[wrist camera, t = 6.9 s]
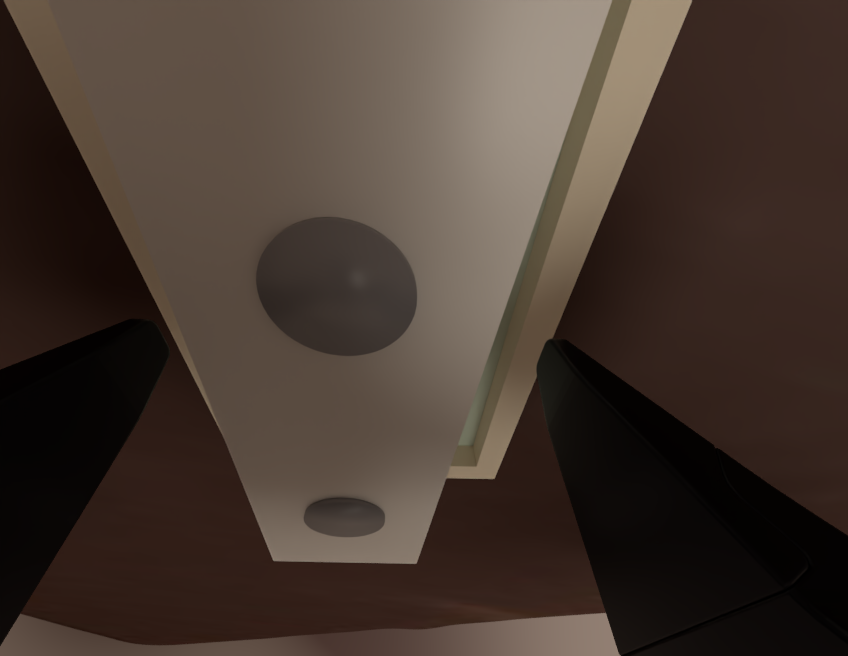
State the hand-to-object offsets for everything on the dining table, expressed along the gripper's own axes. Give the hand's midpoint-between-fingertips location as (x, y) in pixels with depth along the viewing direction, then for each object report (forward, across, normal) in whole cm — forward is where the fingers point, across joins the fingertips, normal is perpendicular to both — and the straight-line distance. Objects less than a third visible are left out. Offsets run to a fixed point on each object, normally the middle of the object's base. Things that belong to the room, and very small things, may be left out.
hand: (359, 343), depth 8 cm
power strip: (+2, 0, 0) cm, 2 cm away
